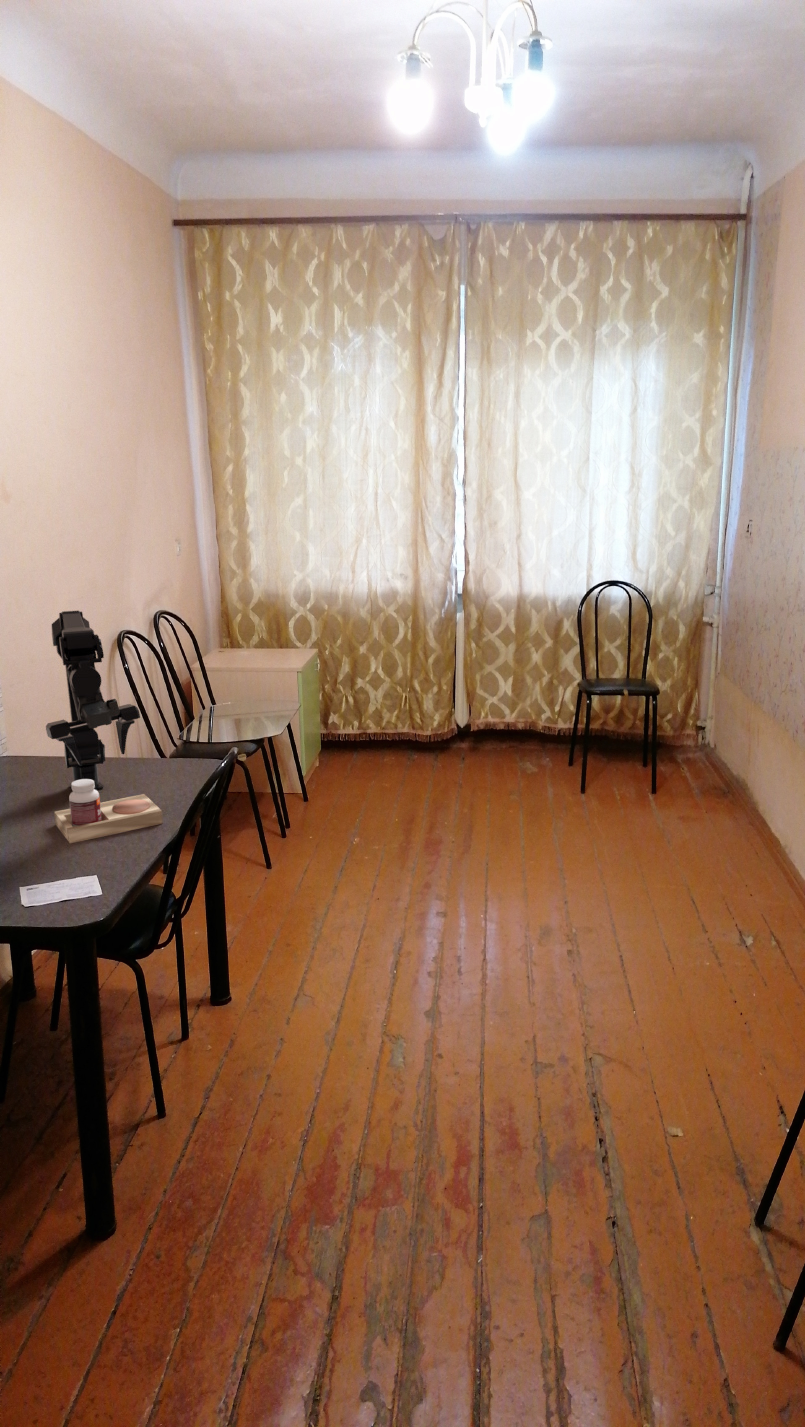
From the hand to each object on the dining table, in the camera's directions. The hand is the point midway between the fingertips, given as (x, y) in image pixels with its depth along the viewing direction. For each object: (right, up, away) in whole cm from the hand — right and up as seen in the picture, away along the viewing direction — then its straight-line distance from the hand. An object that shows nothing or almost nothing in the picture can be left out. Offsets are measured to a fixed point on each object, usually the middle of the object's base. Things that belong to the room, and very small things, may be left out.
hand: (102, 759), depth 206 cm
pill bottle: (-3, -16, +1) cm, 16 cm away
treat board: (0, -14, +4) cm, 15 cm away
